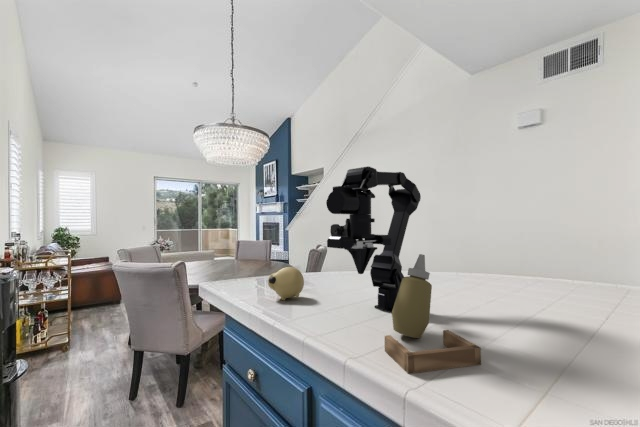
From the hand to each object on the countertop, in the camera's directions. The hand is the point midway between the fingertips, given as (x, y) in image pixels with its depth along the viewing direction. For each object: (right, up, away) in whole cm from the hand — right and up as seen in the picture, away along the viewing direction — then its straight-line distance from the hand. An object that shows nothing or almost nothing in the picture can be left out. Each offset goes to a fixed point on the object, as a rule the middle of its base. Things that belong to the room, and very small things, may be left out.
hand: (360, 273), depth 79 cm
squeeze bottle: (+8, -11, -13) cm, 19 cm away
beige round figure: (-22, -13, +22) cm, 34 cm away
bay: (+10, -11, -22) cm, 27 cm away
